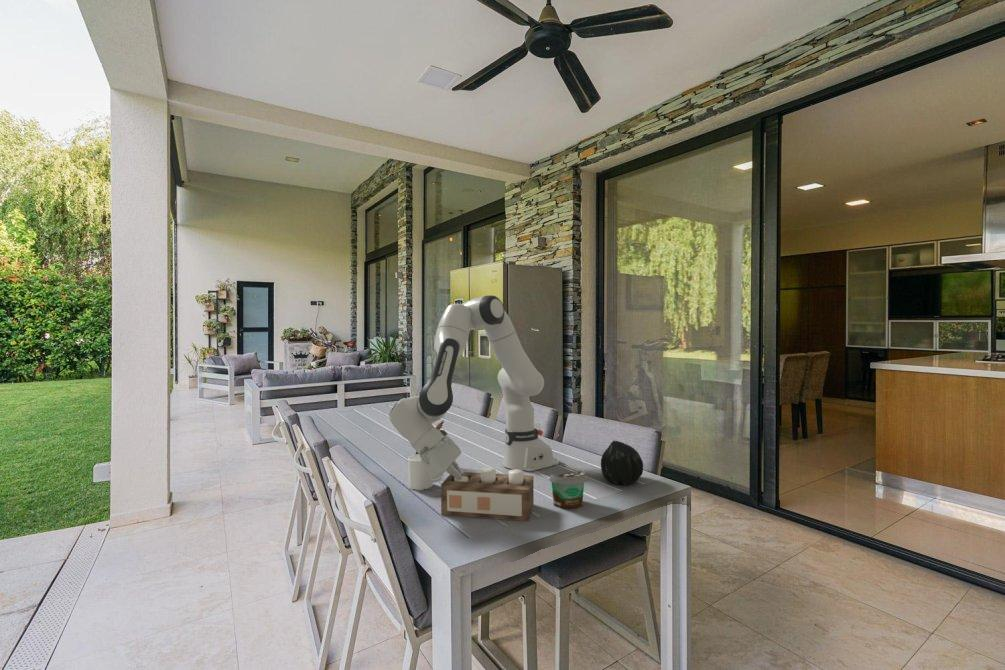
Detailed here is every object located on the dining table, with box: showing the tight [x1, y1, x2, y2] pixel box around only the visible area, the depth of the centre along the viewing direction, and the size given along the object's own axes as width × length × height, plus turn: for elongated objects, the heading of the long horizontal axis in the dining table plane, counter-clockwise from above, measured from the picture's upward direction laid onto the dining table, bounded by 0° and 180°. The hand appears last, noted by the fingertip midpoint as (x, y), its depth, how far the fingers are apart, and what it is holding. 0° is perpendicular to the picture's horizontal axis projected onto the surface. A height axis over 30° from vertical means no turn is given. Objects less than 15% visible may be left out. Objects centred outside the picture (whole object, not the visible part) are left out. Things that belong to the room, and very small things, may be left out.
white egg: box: [454, 476, 468, 482], centre depth 141 cm, size 4×4×5 cm
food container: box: [548, 468, 587, 510], centre depth 141 cm, size 12×6×10 cm, turn 114°
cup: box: [407, 453, 444, 491], centre depth 159 cm, size 8×12×10 cm
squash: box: [600, 440, 644, 486], centre depth 163 cm, size 14×15×15 cm
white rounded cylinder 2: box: [508, 469, 525, 485], centre depth 137 cm, size 4×4×5 cm
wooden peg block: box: [440, 471, 535, 522], centre depth 139 cm, size 26×12×9 cm, turn 80°
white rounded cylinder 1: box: [480, 467, 497, 484], centre depth 139 cm, size 4×4×5 cm
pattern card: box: [447, 490, 522, 516], centre depth 133 cm, size 22×1×6 cm, turn 80°
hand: (460, 476), depth 140 cm, fingers closed, pressing on white egg
